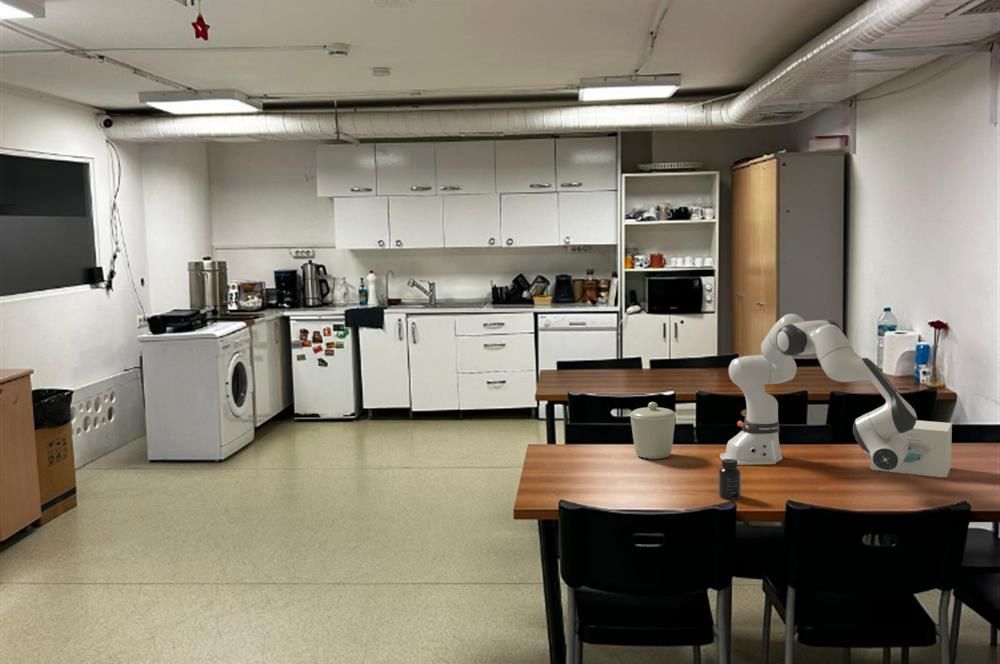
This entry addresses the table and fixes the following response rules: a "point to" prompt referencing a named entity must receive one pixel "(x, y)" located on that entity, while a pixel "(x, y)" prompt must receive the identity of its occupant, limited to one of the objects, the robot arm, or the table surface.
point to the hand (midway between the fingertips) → (900, 437)
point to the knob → (911, 456)
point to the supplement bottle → (729, 479)
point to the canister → (653, 431)
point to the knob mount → (937, 458)
